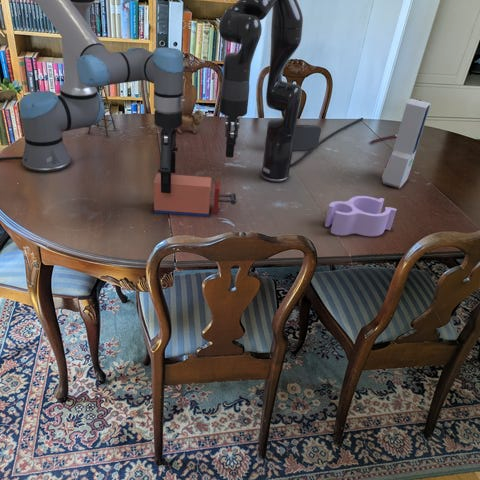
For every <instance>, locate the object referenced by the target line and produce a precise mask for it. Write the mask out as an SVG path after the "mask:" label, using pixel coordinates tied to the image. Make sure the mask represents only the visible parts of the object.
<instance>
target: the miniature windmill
mask: <svg viewBox="0 0 480 480" xmlns="http://www.w3.org/2000/svg"><path fill="white" fill-rule="evenodd" d="M96 89H97V92H99V93H100V95H101V96H102V99H103V100H102V102H105V101H106V103H107V107H106V106H104V116H103V118H102V120H101V121H104V125H101V124H100V122H99V123H98V124H96V125H94V127H95V126H96V127H97V128H99V127H101V128H105V136H106V137H109V132H108V131H109V130H108V127H110V126H111V125H112V126H113V129H114V131H117V127H116V121H115V119H114V117H113V113H112V108H111V106H110V102H109V98H108V96H107V91H106V86H103V87H96ZM103 93H104V96H103ZM105 110H106V111H105ZM108 112H109V114H110V119H106V114H107V113H108ZM107 122H110V123H109V124H107ZM91 128H92V126H90V127H88V131H87V132H88V134H91Z"/></svg>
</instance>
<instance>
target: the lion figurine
mask: <svg viewBox="0 0 480 480" xmlns="http://www.w3.org/2000/svg"><path fill="white" fill-rule="evenodd" d="M203 120H204V111H202V110H200V109H197V110H195V111H194V112H193V113H192V114H190V115H189V116H183V115H182V125H183V126H186V127H189V126H190V132H192V133H193V134H196V133H197V130H196V127H197V126H200V124H201V123H202V122H203ZM180 128H181V126H180V127H178V128H176V131H177V132H178V133H179V134H182V133H183V132H182V130H180Z"/></svg>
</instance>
